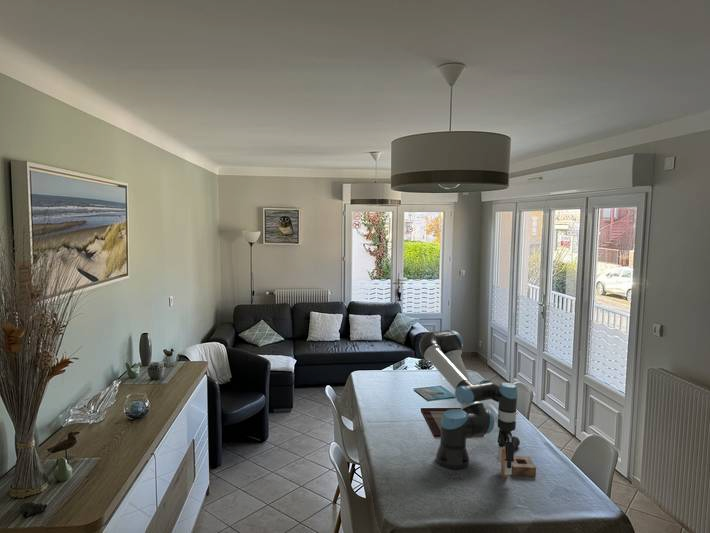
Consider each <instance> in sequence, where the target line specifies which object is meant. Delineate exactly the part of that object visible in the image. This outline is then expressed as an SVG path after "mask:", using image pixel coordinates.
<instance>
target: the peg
mask: <svg viewBox="0 0 710 533" xmlns="http://www.w3.org/2000/svg"><path fill="white" fill-rule="evenodd" d="M504 459H506V452H505V448H504V449H502V460H501V461H500V462H501V466H500V467H501V468H500V477H501V478H505V479H506V478H508V475H505V460H504Z"/></svg>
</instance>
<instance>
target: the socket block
mask: <svg viewBox="0 0 710 533" xmlns="http://www.w3.org/2000/svg"><path fill="white" fill-rule="evenodd" d="M511 475H512V476H518V477H521V476H523V477H536V476H537V467H536V465H535V463H534V462H533V461H532V459H531V457H530V456H524V455H523V456H521V455H514V462H512V473H511Z"/></svg>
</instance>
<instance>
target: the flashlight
mask: <svg viewBox="0 0 710 533" xmlns="http://www.w3.org/2000/svg"><path fill="white" fill-rule="evenodd" d="M512 437H513V438H514V439H513V450H514V451H515V449H516V448H518V447H520V444H521V441H520V438H519V437H518V436H514V435H512ZM503 447H505V446H503Z"/></svg>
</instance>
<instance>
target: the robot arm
mask: <svg viewBox="0 0 710 533" xmlns="http://www.w3.org/2000/svg"><path fill="white" fill-rule="evenodd" d="M418 346H419V347H418V349H419V352H420V354H421V357H423V358H424V359H425V361H427V362H430V363H431V364H432V366H434V368H435V369H436V370H437V371H438V373H439V374H441V375H442V377H443V378H444V379H445V380H446V381H447V382H448V383H449V384H450V386H451V387H452V388H453V389H454V391H455V392H454V396H455V398H456V401H457V402H458V403H459V404H460V405H461V407H460V409H459V408H457V409H456V408H451V409H447V410H445V411H444V412H443V413H442V415H441V418H440V419H441V420H440V440H439V441H440V444H439V447H438V449H437V451H436V454H435V461H436V463H437V464H438V465H439V466H441V467H442V468H444V469H445V468H446V469H450V470H463V469H465V468H468V466H469V464H470V457H469V453H468V450H467V439H470V438H471V439H472V438H476V437H479V436H485V435H489V434H490V433H492V431H493V430H494V428H495V422H496V421H495V416H494V413H493V411H492V410H491V409H489V408H487V407H485V405H484V403H483V402H482V401H488V400H493V401H495V402H496V403H498V410H497V417H498V418H497V427H498V429H499V430H498V435H497V443H498V444H497V445H498V454H497V455H498V456H497V461H498V462H501V460H502V449H504V448H505V452H506V459H504V460H505V475H507V476H508V475H509V476H511V475H512V462H514V456H515V453H514V451H515V449H514V450H513V439H514V438H513V437H512V436H513V433H512V432H513V431H515V430H516V427H517V415H518V412H517V405H518V396H519V395H518V387H517V385H516V384H514V383H510V382H501V383H500V384H499V383H497V382H495V381H494V380H492V379H488V378H485V379H482V380H481V381H480V382H479V383H472V381H471V379H470V376H469V374H468V371H467V367H466V366H465V364H464V362H463V359H462V353H463V351H462V350H463V348H464V341H463V338H462V336H461V334H460V333H459V332H457V331H455V330H451V329H450V330H447V329H446V330H440V331H439V330H438V331H429V332H426V333H424V335H422V336H421V338H420V341H419V343H418ZM503 446H505V447H503Z"/></svg>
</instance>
